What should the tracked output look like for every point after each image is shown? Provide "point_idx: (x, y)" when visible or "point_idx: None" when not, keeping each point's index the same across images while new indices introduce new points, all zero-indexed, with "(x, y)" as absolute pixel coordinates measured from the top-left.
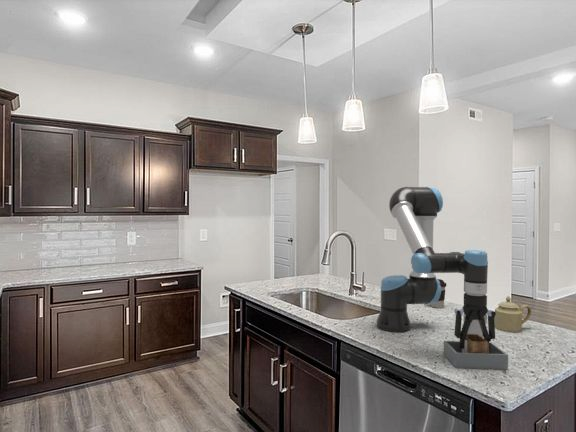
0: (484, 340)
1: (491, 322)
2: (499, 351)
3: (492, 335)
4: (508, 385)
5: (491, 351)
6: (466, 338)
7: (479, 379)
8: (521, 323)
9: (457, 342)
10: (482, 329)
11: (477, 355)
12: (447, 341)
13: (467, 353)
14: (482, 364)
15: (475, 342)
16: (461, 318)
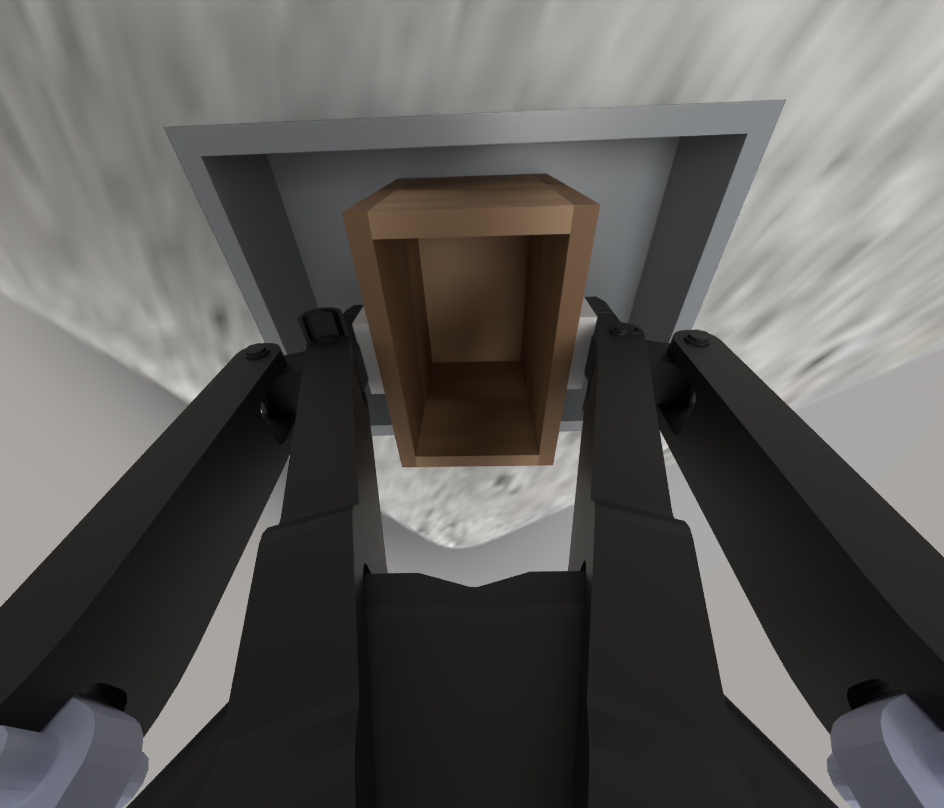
0: (542, 427)
1: (748, 587)
2: None
3: (665, 424)
4: (515, 494)
5: (684, 170)
6: (383, 383)
7: (425, 468)
8: None
9: (339, 148)
10: (584, 443)
11: None
12: (214, 151)
13: (385, 431)
14: None
15: (440, 463)
16: (184, 664)
